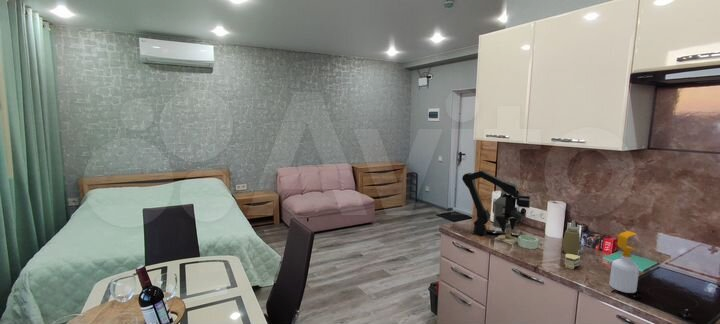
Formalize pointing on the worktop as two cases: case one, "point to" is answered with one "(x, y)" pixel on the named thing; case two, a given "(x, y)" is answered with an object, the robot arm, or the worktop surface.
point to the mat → (503, 241)
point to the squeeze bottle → (571, 239)
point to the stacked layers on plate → (571, 261)
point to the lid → (508, 237)
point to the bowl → (528, 241)
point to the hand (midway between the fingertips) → (508, 231)
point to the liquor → (499, 209)
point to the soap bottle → (624, 267)
